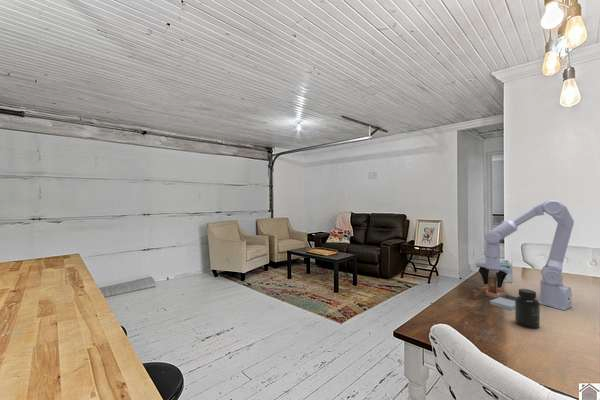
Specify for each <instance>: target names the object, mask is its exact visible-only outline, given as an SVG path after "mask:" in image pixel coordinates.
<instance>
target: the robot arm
mask: <svg viewBox="0 0 600 400" xmlns="http://www.w3.org/2000/svg"><path fill="white" fill-rule="evenodd" d="M544 213H545V214H547V215H549V216H551V217H552V219H553V220H554V221H555V222H556V223H557V224H556V229H555V232H554V236H553V240H552V243H551V247H550V250H549V255H548V258H547V260H546V263H545V265H544V266H543V267H542V268H541V271H540V272H541V277H542V279H540V284H539V285H540V286H539V287H540V289H539V290H540V292H539V294H540V295H539V296H540V297H539V300H538V301H539V303H540V305H544V306H548V307H550V308H555V309H559V310H563V311H566V310H569V308H572V307H573V305H572V301H573V300H572V295H573V294H572V288H571V287H570V286H566V285H565V284H564V282H563V281H564V280H563V279H564V277H563V274H562V272H563V264H564V261H565V255H566V254H567V253H566V252H567V248H568V246H569V241H570V238H571V234H572V230H573V227H574V223H575V220H574V219H573V217H572V215H571V213H570V211H569V210H568V208H567V206H566V205H564V204H563V202H561V201H559V200H557V199H547V200H545V201H544V202H543V203H539V204H536V205H535V206H532V207H531V208H529V209H527V210H526V211H524V212H523V213H521V214H520V215H518V216H517V217H516V218H514V219H512V220H510V219H507V220H502V221H501V223H500V224H498V225H497V226H495V227H494V226H493V227H492V228H491V230H489V231H487V232H486V233H485V235H484V239H485V246H484V249H485V253H484V254H485V256H484V257H485V259H484V260H485V261H484V262H485V263H481V262H475V268H478V272H479V273H480V276H481V278H482V280H483V284H484V285H488V277H489V273H490V270H491V271H496V272H495V275H496V288H497V289H501V288H502V286H503V283H504V282H503V280H504V278H505V277H506V275H507V274H511V269H508V268H505V267H501V266H500V258H501V247H500V241H501V239H505V238H507V237H509V236H510V235H512V234H513V233H515V232H517V231H518V227H519V226H521V225H522V224H524V223H526V222H527V221H529V220H531V219H533V218H534V217H538V216H545V214H544ZM497 271H499V272H497Z"/></svg>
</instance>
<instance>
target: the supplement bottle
mask: <svg viewBox="0 0 600 400" xmlns="http://www.w3.org/2000/svg"><path fill="white" fill-rule="evenodd" d="M515 297H516V299H515V310H514V321H515V323H516V324H517V325H519V326H521V327H523V328H528V329H538V328H540V325H541V323H540V322H541V319H540V318H541V313H540V312H541V307H540V306H541V304H540V303H539V300H538V299H536V298H537V292H536V291H534V290H532V289H528V288H519V289H518V296H515Z"/></svg>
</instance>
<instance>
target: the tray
mask: <svg viewBox="0 0 600 400" xmlns="http://www.w3.org/2000/svg"><path fill="white" fill-rule="evenodd" d="M482 288H484V289H485V297H486V296H487V297H490V298H493V299H496V298H497V296H501V295H504V294H507V295H510V291H509V290H508V291H507V290H505V289H501V288H498V287H496V289H497V294H494V293H491V292H488V285H487V286H483V287H482Z"/></svg>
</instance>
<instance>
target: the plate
mask: <svg viewBox="0 0 600 400" xmlns="http://www.w3.org/2000/svg"><path fill="white" fill-rule="evenodd" d="M508 299H509V298H506V299H505V298H501V297H499V298H493V299H491V300H489V305H491V306H495V307H499V308H501V309H504V310H508V311H515V301H512V300H513V299H510V300H508Z"/></svg>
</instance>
